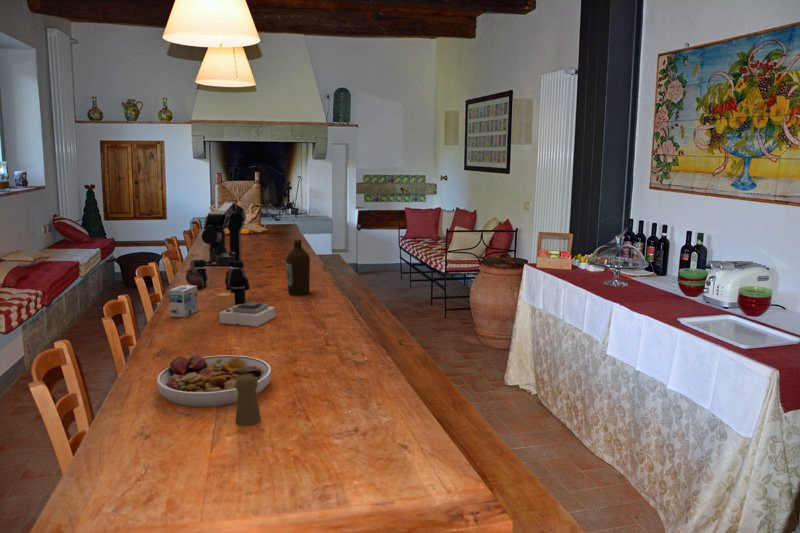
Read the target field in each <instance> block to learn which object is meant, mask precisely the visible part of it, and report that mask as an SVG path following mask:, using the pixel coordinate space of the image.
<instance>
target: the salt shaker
mask: <svg viewBox="0 0 800 533" xmlns="http://www.w3.org/2000/svg"><path fill="white" fill-rule="evenodd" d="M257 385H258V382H257V379H256V378H255V377H253V376H242V377H239V378H238V379H237V380H236V384H235V386H236V389H237V391H238V399H237V402H236V411H235V421H234V422H235V424H236V425H238V426H245V427H246V426H253V425H256V424H258V423H260V422H261V420H262V419H261V412H260V408H259V401H258V396H257V395H258V394H256V388H257Z"/></svg>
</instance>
